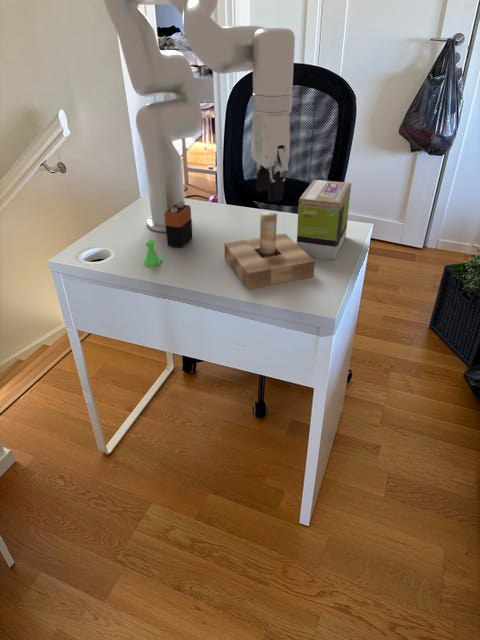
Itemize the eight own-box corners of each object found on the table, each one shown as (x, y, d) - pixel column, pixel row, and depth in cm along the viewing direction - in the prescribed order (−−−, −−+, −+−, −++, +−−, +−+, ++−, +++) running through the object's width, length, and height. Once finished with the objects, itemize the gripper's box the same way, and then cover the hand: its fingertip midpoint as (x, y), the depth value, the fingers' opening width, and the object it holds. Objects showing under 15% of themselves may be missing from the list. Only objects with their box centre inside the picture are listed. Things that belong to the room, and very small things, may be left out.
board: (224, 258, 113) (224, 243, 111) (284, 248, 118) (285, 233, 115) (247, 289, 101) (247, 273, 99) (313, 276, 105) (314, 261, 103)
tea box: (309, 232, 126) (313, 177, 118) (346, 237, 123) (353, 181, 115) (294, 255, 115) (298, 196, 106) (335, 261, 112) (342, 201, 103)
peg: (256, 264, 110) (257, 212, 103) (271, 262, 111) (273, 210, 104) (262, 272, 107) (263, 218, 100) (277, 269, 108) (280, 216, 101)
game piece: (165, 260, 113) (162, 237, 109) (154, 268, 109) (151, 244, 106) (150, 257, 114) (147, 234, 111) (140, 264, 111) (136, 241, 108)
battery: (193, 238, 123) (190, 201, 118) (182, 248, 118) (178, 211, 112) (178, 236, 125) (175, 199, 119) (166, 246, 119) (162, 208, 114)
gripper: (238, 98, 95) (239, 185, 105) (271, 113, 82) (268, 211, 92) (272, 95, 97) (270, 181, 107) (309, 110, 84) (302, 206, 94)
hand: (269, 194), depth 99 cm, fingers open, 5 cm apart
